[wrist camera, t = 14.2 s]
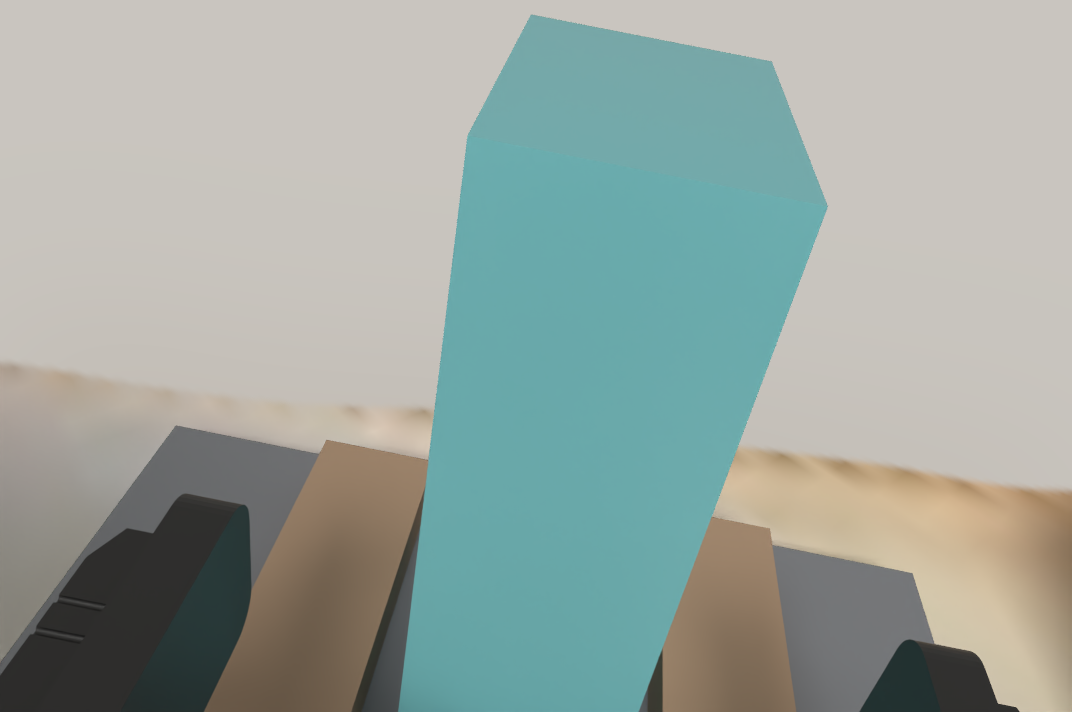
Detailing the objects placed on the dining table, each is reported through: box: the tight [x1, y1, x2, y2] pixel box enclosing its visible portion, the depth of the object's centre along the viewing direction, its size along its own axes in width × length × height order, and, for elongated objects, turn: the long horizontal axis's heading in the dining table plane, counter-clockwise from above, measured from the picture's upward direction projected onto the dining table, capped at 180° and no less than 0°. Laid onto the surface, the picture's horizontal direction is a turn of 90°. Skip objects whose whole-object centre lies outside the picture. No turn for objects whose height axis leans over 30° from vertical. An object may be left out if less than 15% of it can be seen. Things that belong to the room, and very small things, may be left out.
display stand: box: [0, 426, 934, 712], centre depth 21 cm, size 22×12×4 cm, turn 83°
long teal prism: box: [398, 15, 828, 712], centre depth 17 cm, size 4×6×14 cm
